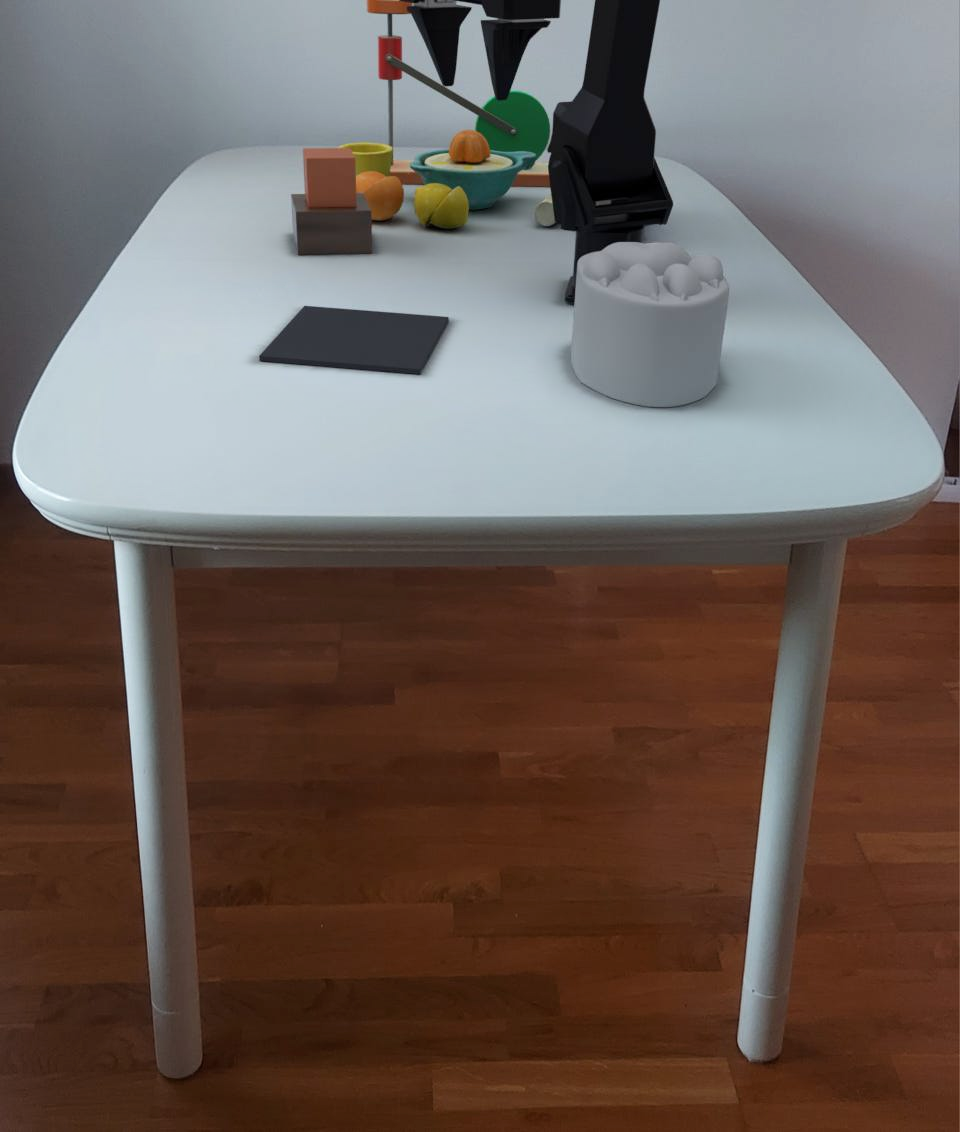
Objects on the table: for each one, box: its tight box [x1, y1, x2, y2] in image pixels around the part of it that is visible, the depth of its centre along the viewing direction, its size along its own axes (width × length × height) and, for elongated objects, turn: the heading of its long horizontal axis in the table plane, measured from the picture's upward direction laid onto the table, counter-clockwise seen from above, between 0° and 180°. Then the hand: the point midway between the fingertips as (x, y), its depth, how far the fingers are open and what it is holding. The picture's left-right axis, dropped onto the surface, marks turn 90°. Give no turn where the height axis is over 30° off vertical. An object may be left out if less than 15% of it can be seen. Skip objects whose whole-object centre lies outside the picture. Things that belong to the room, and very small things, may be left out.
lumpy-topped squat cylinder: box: [570, 241, 730, 408], centre depth 84 cm, size 10×13×9 cm
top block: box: [302, 147, 356, 208], centre depth 111 cm, size 4×4×4 cm
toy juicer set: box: [337, 129, 556, 230], centre depth 124 cm, size 29×18×8 cm, turn 93°
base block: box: [290, 193, 373, 256], centre depth 113 cm, size 7×7×4 cm
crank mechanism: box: [365, 0, 551, 188], centre depth 135 cm, size 25×7×19 cm, turn 93°
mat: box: [258, 305, 450, 375], centre depth 90 cm, size 12×12×1 cm
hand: (474, 92), depth 113 cm, fingers open, 9 cm apart
